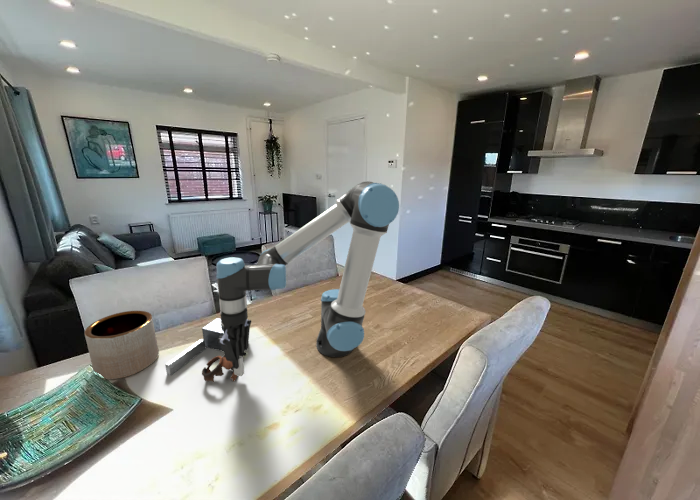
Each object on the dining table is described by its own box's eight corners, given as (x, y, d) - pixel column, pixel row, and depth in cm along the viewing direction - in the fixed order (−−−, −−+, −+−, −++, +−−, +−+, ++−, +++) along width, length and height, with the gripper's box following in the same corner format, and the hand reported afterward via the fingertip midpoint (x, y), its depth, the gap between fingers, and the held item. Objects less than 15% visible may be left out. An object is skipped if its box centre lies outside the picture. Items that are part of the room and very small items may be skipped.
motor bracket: (248, 342, 111) (247, 319, 108) (201, 384, 88) (197, 358, 86) (219, 335, 114) (216, 313, 112) (166, 374, 92) (162, 348, 89)
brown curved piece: (233, 389, 88) (216, 374, 84) (210, 395, 90) (193, 380, 87) (247, 357, 98) (233, 342, 94) (226, 363, 101) (212, 349, 97)
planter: (106, 353, 101) (96, 314, 97) (163, 343, 108) (157, 306, 104) (84, 387, 86) (72, 343, 81) (153, 373, 92) (145, 332, 88)
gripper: (237, 297, 91) (242, 358, 98) (207, 316, 79) (215, 385, 86) (257, 301, 89) (260, 363, 96) (229, 321, 77) (235, 391, 84)
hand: (239, 373), depth 91 cm, fingers closed
